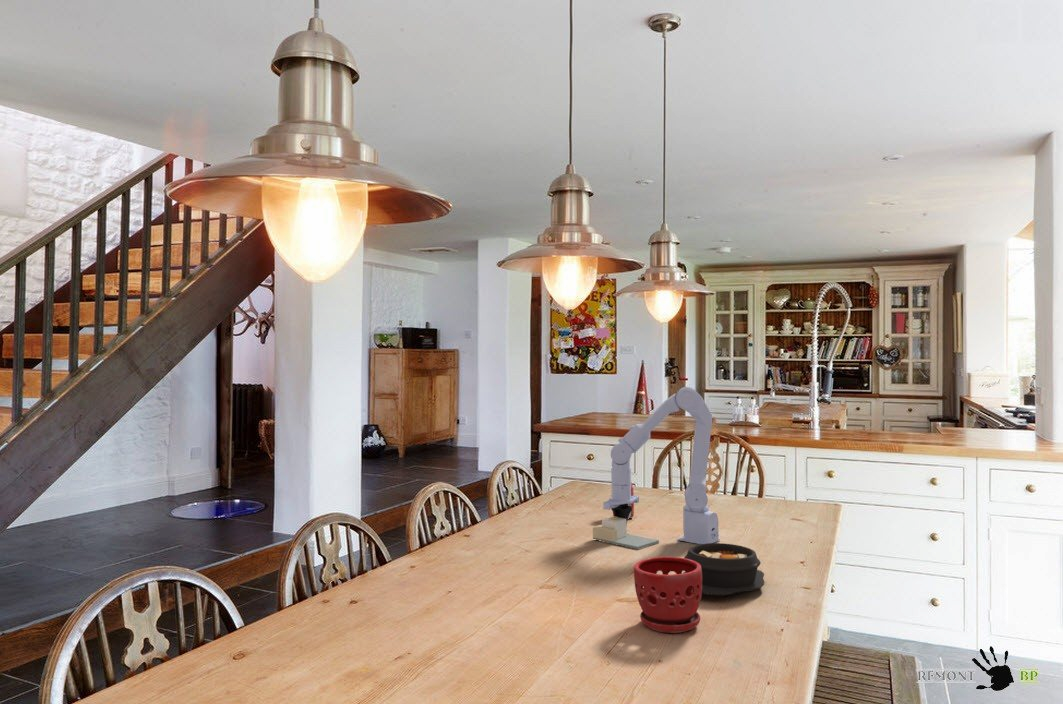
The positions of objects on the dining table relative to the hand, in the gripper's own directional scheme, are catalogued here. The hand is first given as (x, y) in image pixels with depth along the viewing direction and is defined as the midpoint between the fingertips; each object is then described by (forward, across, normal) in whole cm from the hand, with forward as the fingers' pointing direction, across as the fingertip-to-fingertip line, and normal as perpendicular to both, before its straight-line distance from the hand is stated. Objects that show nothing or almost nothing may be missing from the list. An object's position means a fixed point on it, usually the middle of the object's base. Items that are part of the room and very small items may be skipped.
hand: (621, 530), depth 216 cm
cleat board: (+2, +3, +4) cm, 5 cm away
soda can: (+2, -22, -16) cm, 27 cm away
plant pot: (+2, +51, +51) cm, 72 cm away
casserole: (+2, +22, +46) cm, 51 cm away
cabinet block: (+1, +3, 0) cm, 4 cm away
